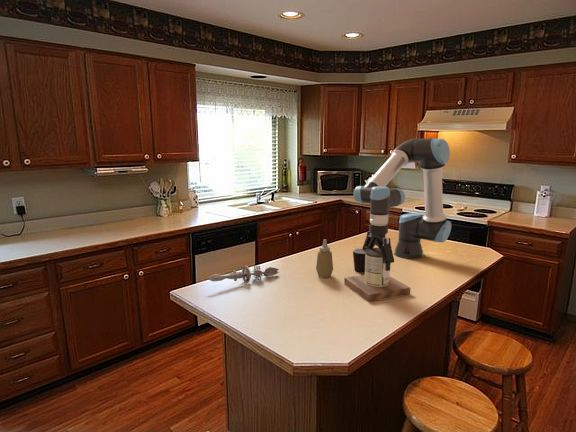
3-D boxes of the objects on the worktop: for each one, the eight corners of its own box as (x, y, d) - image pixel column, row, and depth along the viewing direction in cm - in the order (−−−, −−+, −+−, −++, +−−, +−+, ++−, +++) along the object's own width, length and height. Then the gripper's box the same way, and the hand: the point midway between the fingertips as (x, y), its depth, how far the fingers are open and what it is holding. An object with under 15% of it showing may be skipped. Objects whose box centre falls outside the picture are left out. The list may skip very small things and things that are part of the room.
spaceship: (204, 270, 165) (211, 268, 159) (273, 263, 184) (281, 261, 178) (206, 288, 164) (213, 287, 157) (275, 279, 183) (283, 278, 176)
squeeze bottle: (320, 272, 184) (320, 236, 180) (335, 275, 180) (336, 238, 176) (312, 277, 177) (313, 240, 174) (328, 280, 173) (329, 242, 170)
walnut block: (382, 278, 176) (382, 272, 175) (410, 294, 157) (410, 287, 157) (344, 284, 169) (344, 277, 168) (368, 301, 151) (368, 294, 150)
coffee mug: (357, 266, 192) (358, 247, 190) (373, 269, 187) (373, 250, 185) (345, 272, 183) (346, 252, 181) (361, 276, 178) (362, 256, 176)
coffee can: (365, 277, 169) (366, 246, 166) (388, 279, 166) (390, 248, 163) (363, 285, 159) (364, 253, 156) (388, 288, 156) (390, 255, 154)
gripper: (355, 218, 168) (354, 264, 172) (388, 231, 145) (386, 283, 149) (370, 217, 170) (368, 262, 174) (405, 229, 147) (402, 281, 151)
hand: (376, 272), depth 162 cm, fingers open, 13 cm apart
